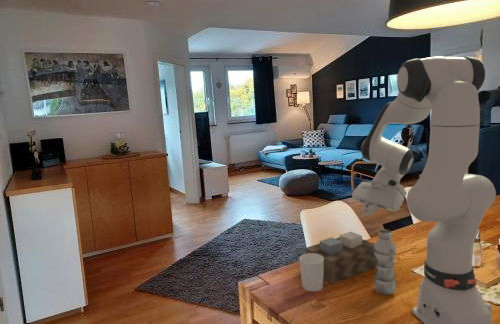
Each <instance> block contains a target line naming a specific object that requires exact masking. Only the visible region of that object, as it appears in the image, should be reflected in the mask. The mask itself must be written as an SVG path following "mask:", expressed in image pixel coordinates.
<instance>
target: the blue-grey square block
mask: <svg viewBox="0 0 500 324" xmlns="http://www.w3.org/2000/svg"><path fill="white" fill-rule="evenodd" d="M319 244H320V250H321V251H323V252H325V253H327V254H329V255H334V254H337V253H340V252H343V242H341V241H339V240H337V239H336V238H334V237H328V238H326V239H325V238H324V239H321V240H319Z"/></svg>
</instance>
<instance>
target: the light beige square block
mask: <svg viewBox="0 0 500 324" xmlns="http://www.w3.org/2000/svg"><path fill="white" fill-rule="evenodd" d="M339 237H340V241H341V242H343V245H344V246H346V247H348V248H350V249H351V248H354V247H357V246H360V245H362V239H363V235H361V234H359V233H355V232H354V231H348V232H344V233H341V234H339Z"/></svg>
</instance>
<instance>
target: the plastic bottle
mask: <svg viewBox="0 0 500 324" xmlns="http://www.w3.org/2000/svg"><path fill="white" fill-rule="evenodd" d="M377 235H378V239H377V240H376V241H375V243H373V244H374V254H375V262H376V267H375V273H374V278H373V288H374V290H375V291H376V292H377V293H379V294H381V295H383V296H384V295H385V296H386V295H387V296H388V295H389V296H390V295H393V294H394V293H395V292H396V290H397V281H396V276H395V275H396V274H395V263H396V262H395V261H396V255H397V246H396V245H395V242H394V241H393V240H392V238H393V236H392V235H393V234H392V230H389V229H379V230H378V234H377Z"/></svg>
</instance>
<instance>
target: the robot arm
mask: <svg viewBox="0 0 500 324" xmlns="http://www.w3.org/2000/svg"><path fill="white" fill-rule="evenodd" d="M396 77H397V78H396V85H397V89H398V92H397V96H396V98H395V99H394V100H393V101H389V102H387V103H386V104H385V105H384V106H383V107H382V109H381V110H380V112H379V113H378V115H377V117H376V119H375V121H374V123H373V125H372V127H371V128H370V131H369V132H368V135H367V137H366V138H365V139H364V140H363V142H362V144H361V145H360V153H361V156H362V158H363V160H367V161H369V162H372V163H376V164H377V165H379V166H381V168H380V169H379V170H378V171H377V172H376V174H375V176H374V177H373V179H372V181H369V180H363V181H361V182H360V183H359V184H358V186H356V187H355V189H354V190H353V192H352V193H351V197H352V199H353V200H354V201H355V202H357V203H361V204H363V209H362V211H361V212H362V214H363V215H365V216H368V217H371V215H372V214H373V213H374V212H376V211H378V209H383V210H386V211H390V212H394V213H396V212H397V211H399V209H400V208H401V207H402V205H403V202H404V201H405V197H406V204H407V209H408V211H409V212H410V213H411V215H412V216H413V217H414V218H415V219H417V220H419V221H420V222H427V223H429V222H430V223H434V222H436V223H435V225H434V226H433V227H432V228H431V229H430V230H429V233H428V235H427V237H426V258H425V260H424V265H423V274H424V277H423V280H422V281H421V282H420V284H419V286H418V293H417V303H416V305H415V306H414V307H413V308H412V313H413V315H414V316H416V318H417V319H419V320H420V321H421V322H422V323H424V324H493V319H492V314H491V312H492V311H493V309H492V305H491V303H489V302H485V301H484V299H483V297H482V292H481V291H479V290H478V288H477V286H476V285H477V284H478V282H477V281H478V279H476V274H475V271H474V268H473V255H474V246H475V245H474V244H475V240H476V236H477V233H478V231H479V228H480V225H481V222H482V220H483V218H484V215H485V214H486V213H487V211H488V210H489V208H490V207H491V206H492V205H493V204H494V203H495V201H496V197H497V196H496V195H497V192H496V188H495V186H494V184H493V182H492V181H491V180H490V179H489V178H488V177H486V176H483V175H480V174H473V173H466V172H467V170H468V169H469V166H470V165H471V163H473V162H474V161H475V160H476V158H477V156H478V153H479V142H480V141H479V140H480V128H481V127H480V122H481V114H480V113H481V112H480V111H481V109H480V101H479V93H478V92H479V90H480V89H481V87H482V86H483V85H484V83H485V79H486V69H485V66H484V64H483V61H481V60H480V59H479V58H476V57H472V56H462V57H459V56H442V55H441V56H431V57H425V58H419V57H418V58H412V59H409V60H407V61H404V62H403V63H402V64H401V66H400V67H399V69H398V72H397V75H396ZM429 115H430V128H429V129H430V131H429V132H430V133H429V146H428V147H429V148H428V154H427V159H426V163H425V164H424V165H425V166H424V168H423V169H422V173H421V174H420V176H419V178H418V179H417V181H416V183H414V185H413V186H412V187H411V188H410V189H409V190H408V192H407V191H406V189H405V188H404V187H403V186H402V185H401V184H400V182H401V179H402V178H403V177H404V176H405V175H406V174H407V173H408V172H409V171H410V170H411V167H412V166H413V164H414V162H415V156H414V153H413V151H412V149H411V148H409V147H407V146H404V145H402V144H400V143H397V142H394V141H392V140H390V139H387V138H386V137H384V136H383V133H384V131H385V129H386V128H387V126H388V125H390V124H391V125H393V124H398V125H399V124H400V125H414V124H417V123H421V122H422V121H424V120H425V119H427V118H428V116H429Z"/></svg>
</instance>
